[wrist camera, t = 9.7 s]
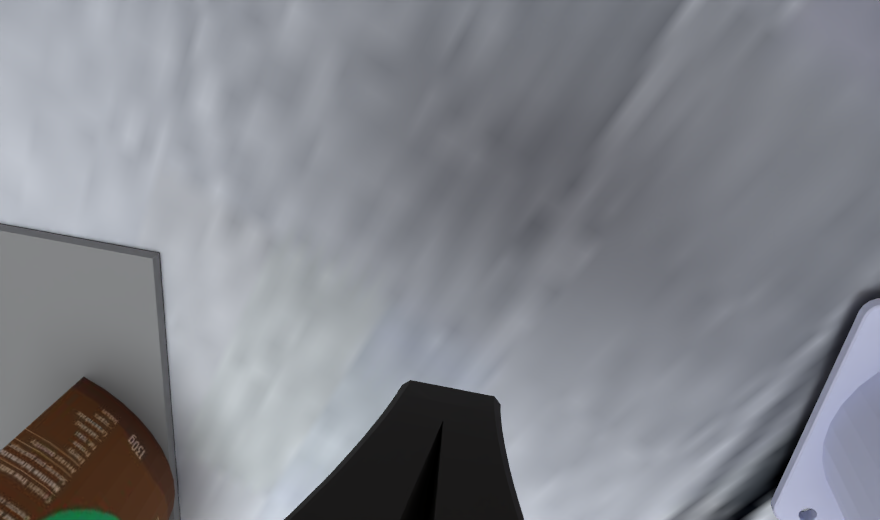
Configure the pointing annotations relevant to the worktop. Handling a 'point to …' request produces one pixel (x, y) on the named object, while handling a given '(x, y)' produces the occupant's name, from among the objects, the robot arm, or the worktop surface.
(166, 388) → the mat
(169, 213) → the worktop surface
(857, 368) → the robot arm
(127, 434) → the food container
